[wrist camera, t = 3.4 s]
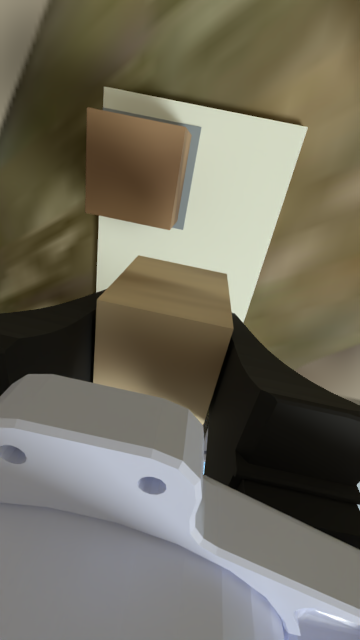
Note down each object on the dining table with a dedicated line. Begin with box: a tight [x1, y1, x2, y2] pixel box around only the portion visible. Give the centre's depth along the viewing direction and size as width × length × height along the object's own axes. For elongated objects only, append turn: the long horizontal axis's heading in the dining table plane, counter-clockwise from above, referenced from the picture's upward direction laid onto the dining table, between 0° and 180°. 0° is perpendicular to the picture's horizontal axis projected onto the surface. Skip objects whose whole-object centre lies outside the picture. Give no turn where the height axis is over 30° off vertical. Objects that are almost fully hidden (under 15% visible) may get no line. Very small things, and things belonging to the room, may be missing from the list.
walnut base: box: [85, 107, 192, 230], centre depth 17 cm, size 5×5×4 cm
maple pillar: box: [93, 255, 234, 425], centre depth 11 cm, size 4×4×5 cm
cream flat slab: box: [96, 87, 308, 322], centre depth 20 cm, size 16×12×1 cm
